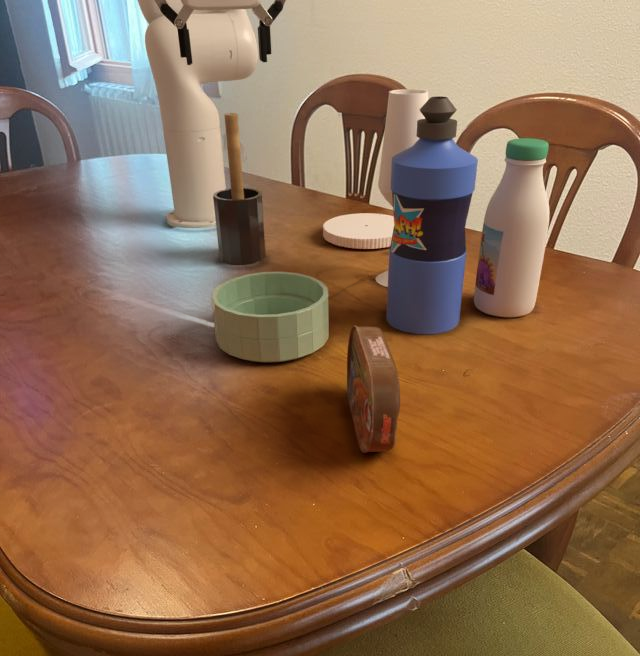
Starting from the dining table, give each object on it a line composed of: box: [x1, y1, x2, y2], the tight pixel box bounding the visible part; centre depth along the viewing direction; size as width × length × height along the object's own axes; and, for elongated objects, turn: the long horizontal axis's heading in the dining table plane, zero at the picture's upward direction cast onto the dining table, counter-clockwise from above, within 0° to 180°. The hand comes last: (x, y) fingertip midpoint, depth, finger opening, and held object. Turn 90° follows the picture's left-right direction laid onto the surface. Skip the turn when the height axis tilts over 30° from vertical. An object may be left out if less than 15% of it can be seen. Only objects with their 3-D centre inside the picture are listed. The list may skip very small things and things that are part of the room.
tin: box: [346, 325, 401, 454], centre depth 60 cm, size 15×3×8 cm, turn 5°
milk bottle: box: [473, 137, 551, 318], centre depth 79 cm, size 8×8×20 cm
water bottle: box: [386, 95, 479, 335], centre depth 75 cm, size 9×9×25 cm
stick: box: [224, 112, 244, 200], centre depth 95 cm, size 2×2×20 cm
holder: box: [213, 187, 267, 266], centre depth 98 cm, size 7×7×10 cm
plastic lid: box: [322, 212, 394, 250], centre depth 107 cm, size 14×14×2 cm
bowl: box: [210, 271, 330, 364], centre depth 76 cm, size 13×13×6 cm
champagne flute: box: [375, 88, 429, 288], centre depth 87 cm, size 7×7×24 cm
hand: (226, 62), depth 86 cm, fingers open, 9 cm apart
